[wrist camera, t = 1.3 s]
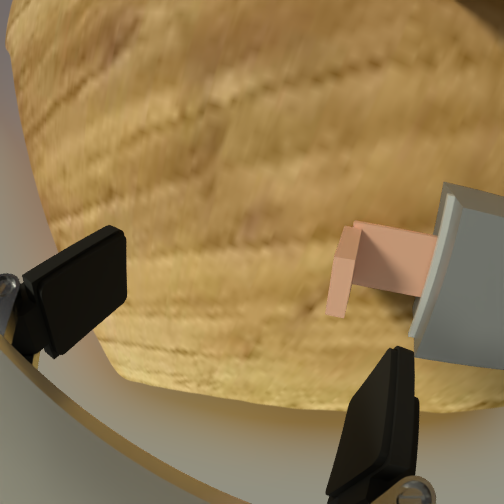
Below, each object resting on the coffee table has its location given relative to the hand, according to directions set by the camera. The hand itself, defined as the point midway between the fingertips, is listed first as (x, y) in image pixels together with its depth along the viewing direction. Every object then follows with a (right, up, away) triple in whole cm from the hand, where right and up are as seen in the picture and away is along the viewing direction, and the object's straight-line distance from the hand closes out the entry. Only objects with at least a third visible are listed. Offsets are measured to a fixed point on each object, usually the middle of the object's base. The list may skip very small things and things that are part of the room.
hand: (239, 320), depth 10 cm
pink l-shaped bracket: (+17, +1, +15) cm, 22 cm away
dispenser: (+25, +1, +16) cm, 30 cm away
